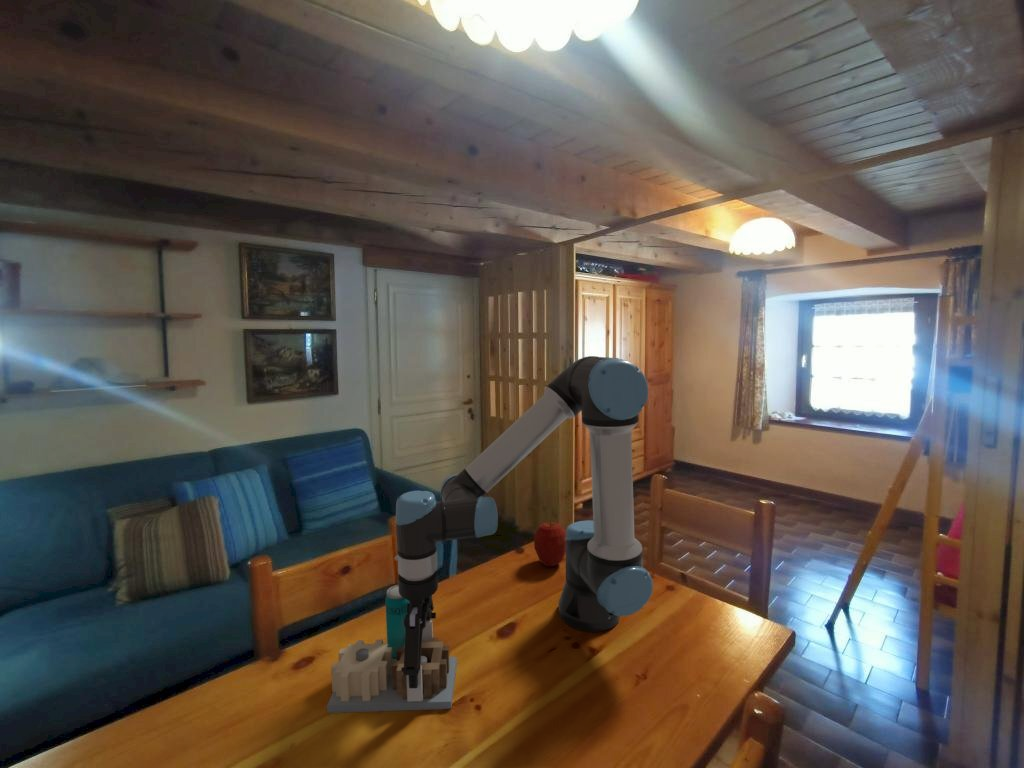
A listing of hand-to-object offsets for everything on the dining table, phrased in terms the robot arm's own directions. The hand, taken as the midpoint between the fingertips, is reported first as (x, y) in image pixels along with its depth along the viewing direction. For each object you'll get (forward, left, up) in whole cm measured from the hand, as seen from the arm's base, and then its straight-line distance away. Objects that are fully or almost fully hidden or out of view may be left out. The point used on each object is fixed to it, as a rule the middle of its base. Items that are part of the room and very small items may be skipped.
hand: (421, 673), depth 92 cm
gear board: (+5, 0, -3) cm, 6 cm away
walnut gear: (0, 0, -1) cm, 1 cm away
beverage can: (+6, -9, -3) cm, 11 cm away
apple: (-31, -48, -3) cm, 57 cm away
